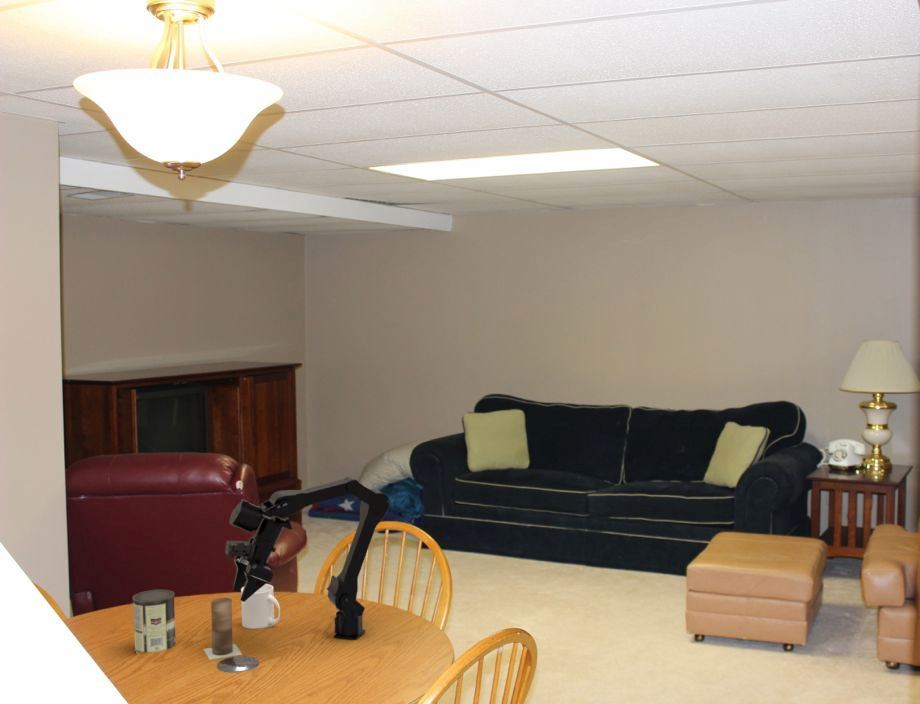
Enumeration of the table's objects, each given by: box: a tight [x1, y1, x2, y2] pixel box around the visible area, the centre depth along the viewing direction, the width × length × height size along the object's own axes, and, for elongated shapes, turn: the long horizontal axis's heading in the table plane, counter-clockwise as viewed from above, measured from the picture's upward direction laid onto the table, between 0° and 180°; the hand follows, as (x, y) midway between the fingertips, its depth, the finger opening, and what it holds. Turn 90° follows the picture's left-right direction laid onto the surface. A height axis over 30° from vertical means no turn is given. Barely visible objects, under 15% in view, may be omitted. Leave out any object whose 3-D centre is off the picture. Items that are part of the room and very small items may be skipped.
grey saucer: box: [216, 655, 260, 674], centre depth 245 cm, size 10×10×1 cm
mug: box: [240, 583, 281, 630], centre depth 274 cm, size 9×12×11 cm
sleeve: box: [210, 597, 234, 655], centre depth 253 cm, size 5×5×13 cm
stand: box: [203, 643, 243, 661], centre depth 254 cm, size 8×8×1 cm
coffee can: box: [132, 589, 177, 654], centre depth 258 cm, size 10×10×14 cm
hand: (238, 595), depth 255 cm, fingers open, 9 cm apart
